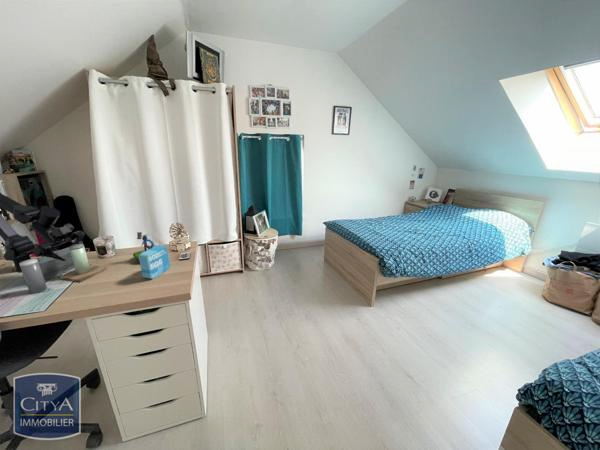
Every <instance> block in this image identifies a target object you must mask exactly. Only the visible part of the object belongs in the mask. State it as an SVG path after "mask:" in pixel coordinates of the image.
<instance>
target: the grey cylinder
mask: <svg viewBox="0 0 600 450" xmlns="http://www.w3.org/2000/svg"><path fill="white" fill-rule="evenodd" d="M19 265H20V267H21V270H22V272H21V273H22V275H23V278H24V280H25V283H26V286H27V288H28V292H29V294H31V295H32V294H33V295H34V294H40V293H42V292H44V291H46V290H47V289H48V287H47V284H46V281H45V280H44V277H43V274H42V271H41V268H40V266H39V263H38V260H37V259H36V258H31V259H30V260H25V261H22V262H20V263H19Z"/></svg>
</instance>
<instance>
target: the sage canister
mask: <svg viewBox="0 0 600 450" xmlns="http://www.w3.org/2000/svg"><path fill="white" fill-rule="evenodd" d="M84 247H85V245H84V243H83V244H75V245H72V244H71V245H70V246H69V250H70V253H71V257H72V260H73V263H74V267H75V268H74V270H76V274H85V273H88V272H90V266H89V265H90V264H89V260H88V256H87V250H86V251H85V249H86V248H84Z"/></svg>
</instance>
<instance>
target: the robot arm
mask: <svg viewBox="0 0 600 450" xmlns="http://www.w3.org/2000/svg"><path fill="white" fill-rule="evenodd" d="M0 209H3V210H4V211H6V212H9V213H10V214H12V216H13V219H14V220H16V221H17V222H19V223H20V224H22V225H26V224H30V223H32V224H30V225H29V229H28V230H29V232H34V231H35V232H36V233H37V234H38V235H39V236H40V237H41V238H40V239H41V241H43V242H42V243H38V244H37V245H36V244H35V243H34V241H32V240H31V239H30V237H29V236H28V235H20V234H19V233H18V232H17V231H16V230H15V229H14V227H12V225H11V224H10V223H9V222H8V221H7V220H6V219H5V218H4V216H3V215H2V214H1V213H0V237H1V238H2V239H3V241H4V249H5V253H4V254H3V258H4V260H5V261H12V262H13V264H14V267H15V268H12V269H11V271H14V272H19V273H22V270H21V267H20V265H19V263H20V262H22V261H25V260H30V259H32V257H31V255H34V256H35V257H37V258H39V257H44V256H45V257H50V258H54V259H58V260H62V261H65V260H66V259H65V258H64V257H63V256H62V255H61V254H60V253H59V252H57V251H58V250H56V247H59V246H61V245H64V244H66V243H68V242H69V243H70V244H71V245H75V244H84V242H83V238H84V236H85V232H84V231H83V230H77V231H74V232H73V230H74V229H75V227H74V226H73V224H71V223H69V222H68V223H65V224H64V225H63V226H61V227H58V226H57V227H55V226H54V224H56V222H57V220H58V219H59V217H60V216H61V212H60V210H59V209H57V208H54V207H49V206H48V205H44V206H43V205H42V206H40V209H39V208H37V207H35V206H32V205H25V204H24V205H23V204H21V203H19V202H18V201H16V200H14V199H12V198H11V197H8V196H7V195H6V194H3V193H1V191H0ZM69 233H71V234H70V235H69ZM84 248H85V246H84ZM85 251H86V252H87V250H86V248H85Z"/></svg>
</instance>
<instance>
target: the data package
mask: <svg viewBox="0 0 600 450" xmlns="http://www.w3.org/2000/svg"><path fill="white" fill-rule="evenodd" d="M146 250H147V251H145V252H143V253H141V254H140V255H139V259H138V261H139V264H140V270H141V275H142V277H143V278H144V279H151V280H153V279H155V278H157V277H158V276H160V275H162V274H163V273H164V272H166V271H168V270H169V269H170V267H171V263H170V258H169V252H168V247H167V246H164V245H156V246H155V245H154V246H153V247H152V248H151V249H146Z"/></svg>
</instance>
